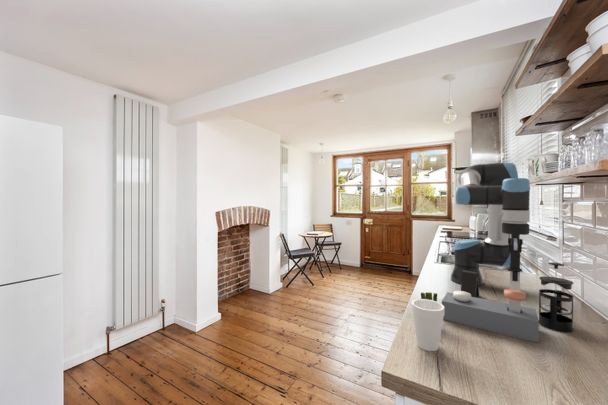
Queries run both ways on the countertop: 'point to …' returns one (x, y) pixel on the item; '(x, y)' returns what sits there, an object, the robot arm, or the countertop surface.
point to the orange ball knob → (515, 299)
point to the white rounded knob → (462, 296)
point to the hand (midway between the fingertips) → (514, 289)
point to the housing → (493, 317)
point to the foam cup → (427, 323)
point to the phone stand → (470, 283)
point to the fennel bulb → (429, 296)
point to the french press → (556, 304)
